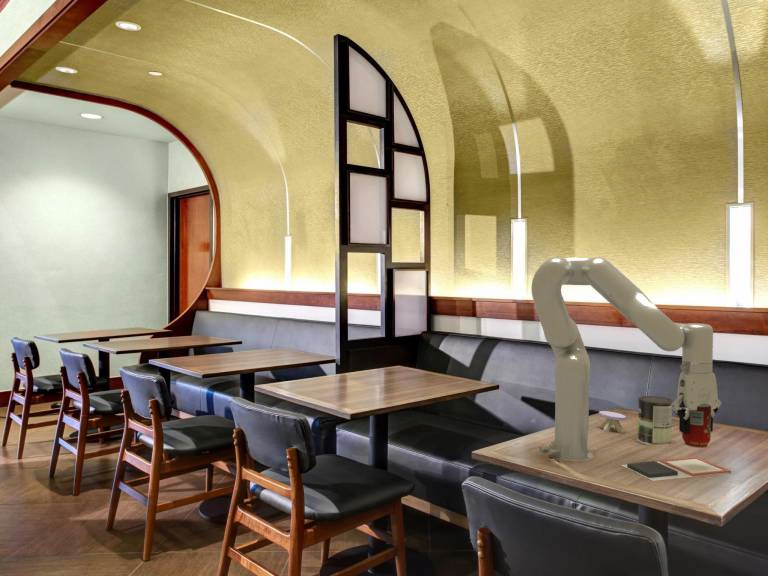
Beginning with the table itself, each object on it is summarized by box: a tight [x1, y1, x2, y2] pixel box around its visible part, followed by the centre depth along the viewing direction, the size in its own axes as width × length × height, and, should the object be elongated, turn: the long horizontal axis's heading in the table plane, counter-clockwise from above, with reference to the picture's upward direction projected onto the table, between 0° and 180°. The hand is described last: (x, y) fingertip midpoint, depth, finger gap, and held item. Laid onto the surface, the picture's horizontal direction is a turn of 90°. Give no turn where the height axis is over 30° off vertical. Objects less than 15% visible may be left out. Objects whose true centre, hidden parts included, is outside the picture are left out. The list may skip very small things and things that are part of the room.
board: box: [621, 461, 727, 482], centre depth 171 cm, size 24×13×1 cm, turn 106°
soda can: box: [681, 404, 712, 449], centre depth 172 cm, size 7×7×12 cm
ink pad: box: [626, 460, 678, 479], centre depth 169 cm, size 9×9×1 cm
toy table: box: [598, 410, 627, 434], centre depth 215 cm, size 10×9×6 cm
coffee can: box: [636, 395, 674, 446], centre depth 201 cm, size 10×10×14 cm
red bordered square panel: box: [659, 456, 732, 477], centre depth 173 cm, size 13×13×1 cm
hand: (695, 431), depth 172 cm, fingers closed on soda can, 7 cm apart
